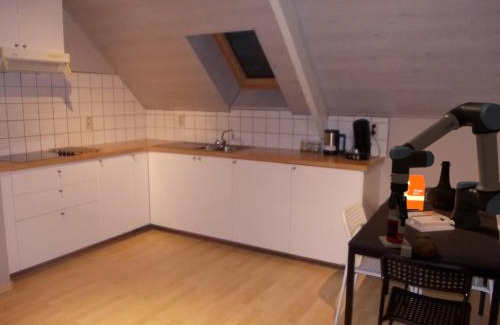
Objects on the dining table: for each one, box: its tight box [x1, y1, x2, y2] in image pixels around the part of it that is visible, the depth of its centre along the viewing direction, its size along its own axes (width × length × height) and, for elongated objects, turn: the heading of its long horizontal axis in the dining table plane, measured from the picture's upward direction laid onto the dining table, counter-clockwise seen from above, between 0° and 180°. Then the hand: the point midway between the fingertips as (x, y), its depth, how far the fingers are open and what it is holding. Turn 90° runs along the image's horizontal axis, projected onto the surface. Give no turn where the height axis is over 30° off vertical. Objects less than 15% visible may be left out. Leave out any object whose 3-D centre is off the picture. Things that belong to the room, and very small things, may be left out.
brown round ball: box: [413, 231, 432, 243], centre depth 193 cm, size 5×5×5 cm
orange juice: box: [404, 174, 426, 211], centre depth 252 cm, size 8×9×20 cm
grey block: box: [400, 245, 412, 259], centre depth 180 cm, size 4×4×4 cm
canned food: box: [385, 214, 405, 243], centre depth 194 cm, size 8×8×11 cm
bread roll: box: [411, 238, 438, 258], centre depth 184 cm, size 10×10×8 cm
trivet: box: [378, 235, 412, 249], centre depth 195 cm, size 11×11×1 cm
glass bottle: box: [426, 160, 456, 210], centre depth 255 cm, size 18×18×28 cm
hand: (396, 227), depth 194 cm, fingers open, 13 cm apart
